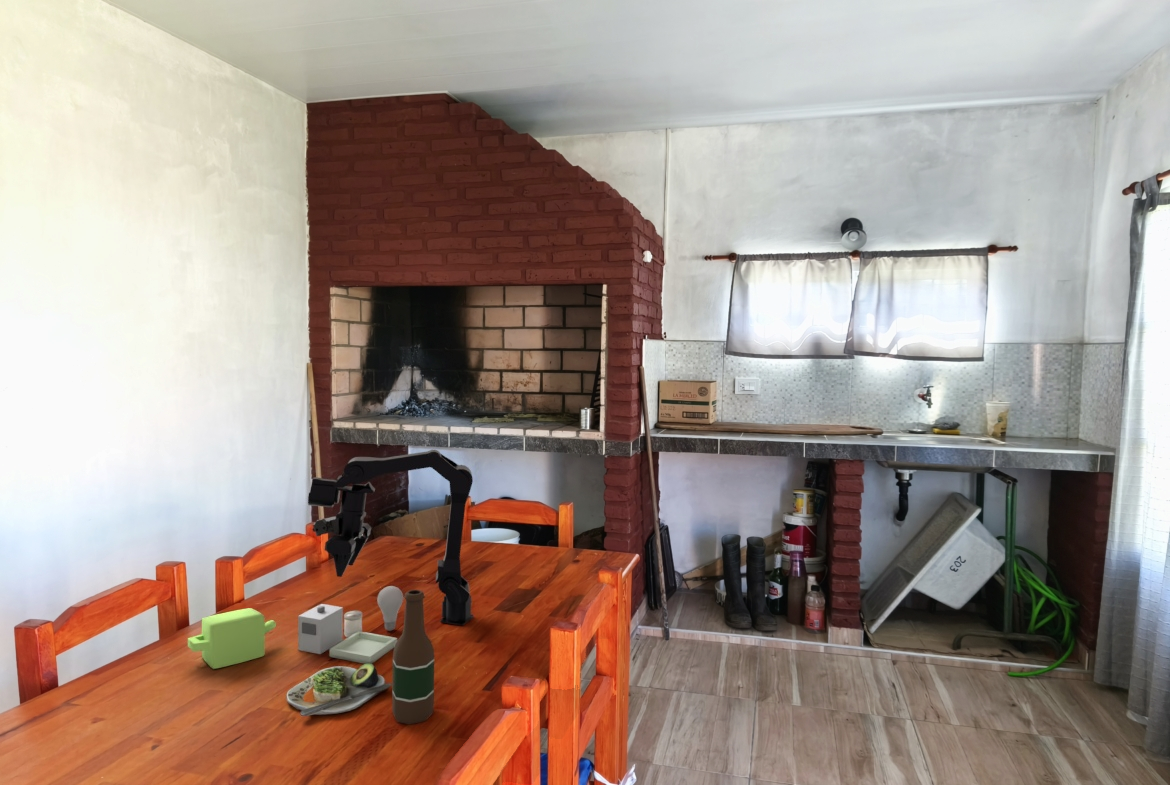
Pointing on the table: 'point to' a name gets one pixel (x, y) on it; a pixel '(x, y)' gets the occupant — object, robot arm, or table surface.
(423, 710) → the beer bottle
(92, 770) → the table surface
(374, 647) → the tray
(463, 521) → the robot arm
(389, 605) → the lightbulb
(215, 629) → the gearbox
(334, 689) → the salad plate
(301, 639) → the box
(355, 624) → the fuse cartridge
